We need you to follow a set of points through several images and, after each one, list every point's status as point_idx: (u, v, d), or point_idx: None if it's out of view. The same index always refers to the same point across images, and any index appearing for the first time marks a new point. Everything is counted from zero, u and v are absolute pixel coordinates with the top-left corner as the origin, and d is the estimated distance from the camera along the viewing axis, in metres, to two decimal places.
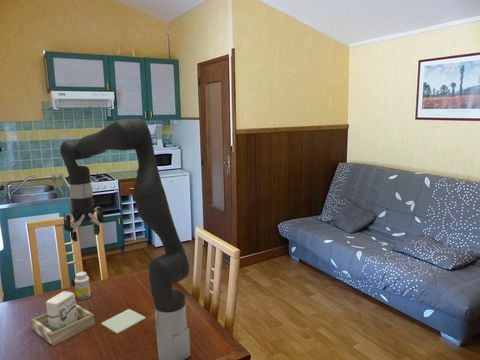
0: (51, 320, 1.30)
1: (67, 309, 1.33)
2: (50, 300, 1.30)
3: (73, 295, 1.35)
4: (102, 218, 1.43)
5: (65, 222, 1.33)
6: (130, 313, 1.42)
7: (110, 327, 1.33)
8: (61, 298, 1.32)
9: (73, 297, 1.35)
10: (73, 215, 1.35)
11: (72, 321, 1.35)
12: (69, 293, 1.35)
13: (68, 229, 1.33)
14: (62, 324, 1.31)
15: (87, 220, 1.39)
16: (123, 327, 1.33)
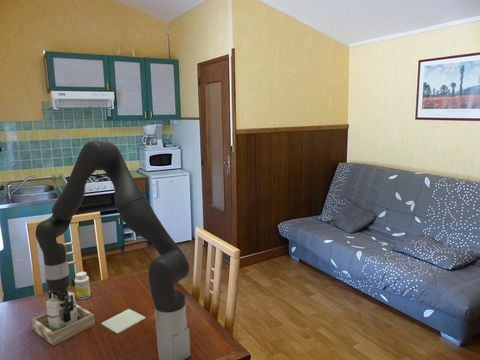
0: (51, 320, 1.30)
1: None
2: (50, 300, 1.30)
3: (73, 295, 1.35)
4: None
5: (69, 304, 1.29)
6: (130, 313, 1.42)
7: (110, 327, 1.33)
8: None
9: (73, 297, 1.35)
10: (67, 294, 1.30)
11: (72, 321, 1.35)
12: (69, 293, 1.35)
13: None
14: (62, 324, 1.31)
15: None
16: (123, 327, 1.33)
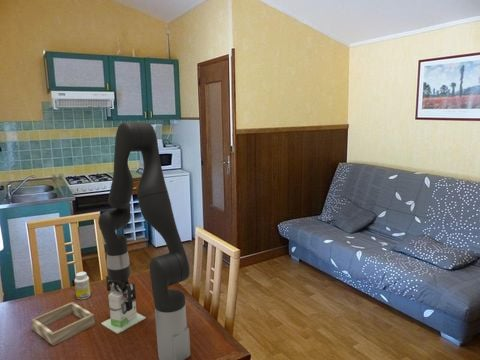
0: (113, 313, 1.33)
1: None
2: (112, 293, 1.33)
3: None
4: None
5: (132, 292, 1.31)
6: None
7: (110, 327, 1.33)
8: None
9: None
10: (128, 283, 1.33)
11: (132, 314, 1.38)
12: None
13: None
14: (123, 317, 1.34)
15: None
16: (123, 327, 1.33)
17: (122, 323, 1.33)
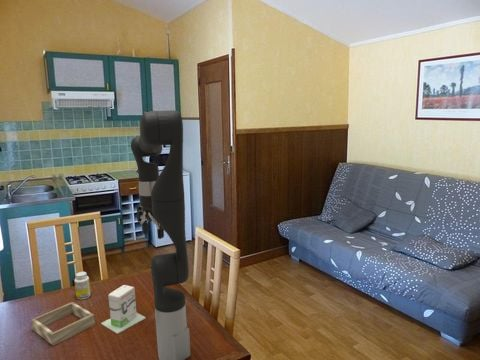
0: (113, 313, 1.33)
1: (128, 302, 1.35)
2: (112, 293, 1.33)
3: (133, 289, 1.38)
4: None
5: None
6: None
7: (110, 327, 1.33)
8: (123, 291, 1.34)
9: (133, 291, 1.38)
10: None
11: (132, 314, 1.38)
12: (129, 287, 1.38)
13: None
14: (123, 317, 1.34)
15: None
16: (123, 327, 1.33)
17: (122, 323, 1.33)
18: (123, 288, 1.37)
